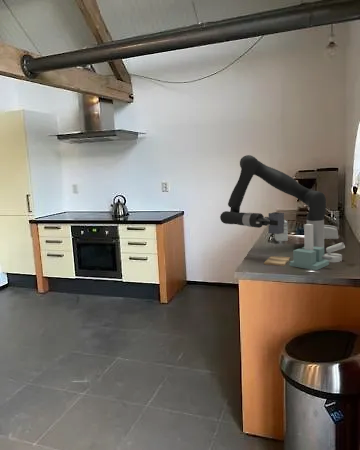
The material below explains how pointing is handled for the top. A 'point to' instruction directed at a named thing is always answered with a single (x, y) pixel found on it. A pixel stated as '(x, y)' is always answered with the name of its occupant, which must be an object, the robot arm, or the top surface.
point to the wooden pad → (277, 261)
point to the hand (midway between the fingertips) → (280, 222)
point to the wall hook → (334, 256)
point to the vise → (309, 253)
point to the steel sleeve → (280, 227)
